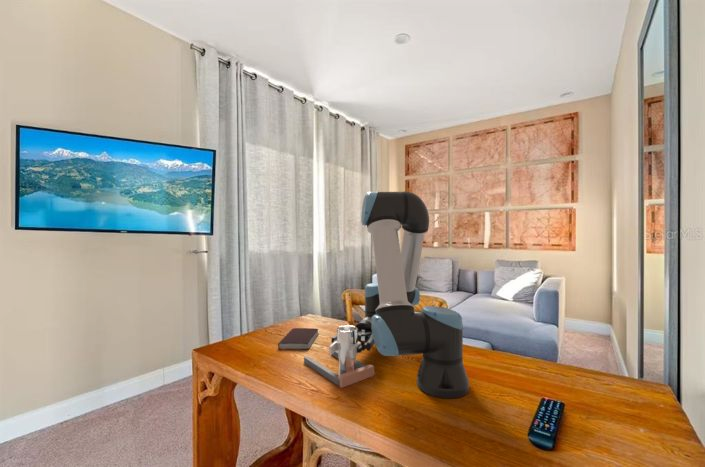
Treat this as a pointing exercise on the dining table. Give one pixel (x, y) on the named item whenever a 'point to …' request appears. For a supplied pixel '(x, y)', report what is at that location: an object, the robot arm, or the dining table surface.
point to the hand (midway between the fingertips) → (340, 352)
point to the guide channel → (346, 378)
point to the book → (299, 339)
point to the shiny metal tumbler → (346, 347)
